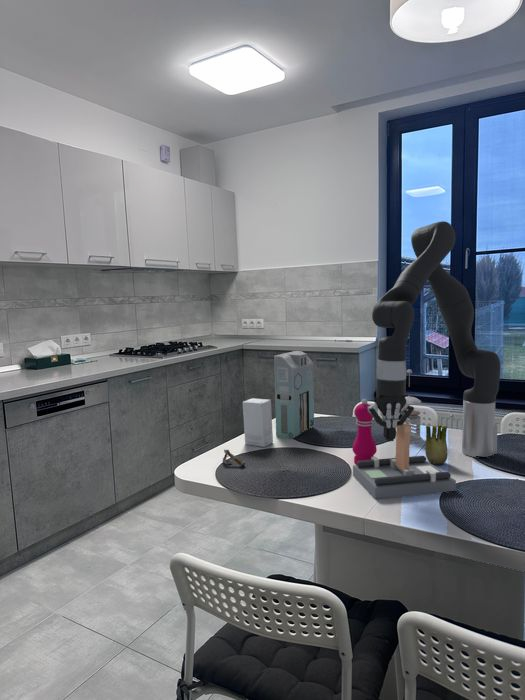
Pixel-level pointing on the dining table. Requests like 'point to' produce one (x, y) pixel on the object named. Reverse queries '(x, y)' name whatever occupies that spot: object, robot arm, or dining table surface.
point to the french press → (413, 418)
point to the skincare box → (257, 422)
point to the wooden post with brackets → (232, 458)
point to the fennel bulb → (436, 444)
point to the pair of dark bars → (405, 478)
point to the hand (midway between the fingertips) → (389, 440)
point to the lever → (402, 446)
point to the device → (293, 393)
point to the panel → (369, 475)
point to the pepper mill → (363, 434)
